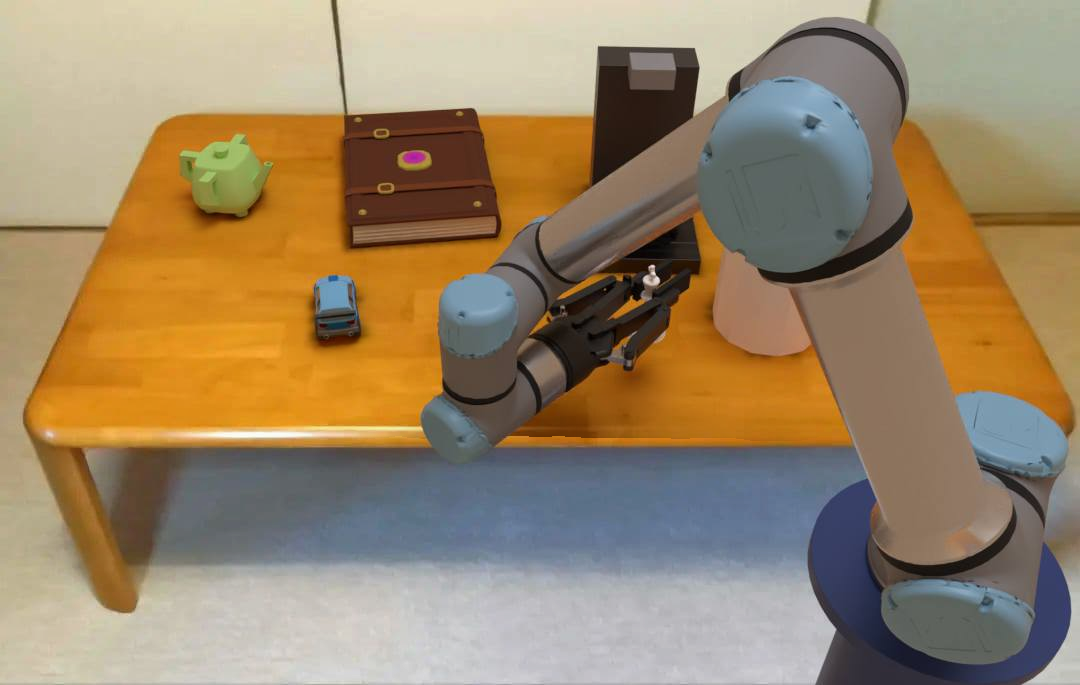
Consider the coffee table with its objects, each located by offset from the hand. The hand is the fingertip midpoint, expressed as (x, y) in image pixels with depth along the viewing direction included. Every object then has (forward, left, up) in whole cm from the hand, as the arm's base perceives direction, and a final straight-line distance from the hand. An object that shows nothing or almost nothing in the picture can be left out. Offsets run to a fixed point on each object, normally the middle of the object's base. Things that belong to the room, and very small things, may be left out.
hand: (678, 273), depth 124 cm
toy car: (+6, +44, -14) cm, 46 cm away
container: (+7, -14, -14) cm, 21 cm away
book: (+39, +36, -14) cm, 55 cm away
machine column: (+34, +2, -13) cm, 36 cm away
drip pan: (+25, +2, -13) cm, 28 cm away
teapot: (+33, +64, -14) cm, 73 cm away
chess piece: (-4, +4, -6) cm, 8 cm away
